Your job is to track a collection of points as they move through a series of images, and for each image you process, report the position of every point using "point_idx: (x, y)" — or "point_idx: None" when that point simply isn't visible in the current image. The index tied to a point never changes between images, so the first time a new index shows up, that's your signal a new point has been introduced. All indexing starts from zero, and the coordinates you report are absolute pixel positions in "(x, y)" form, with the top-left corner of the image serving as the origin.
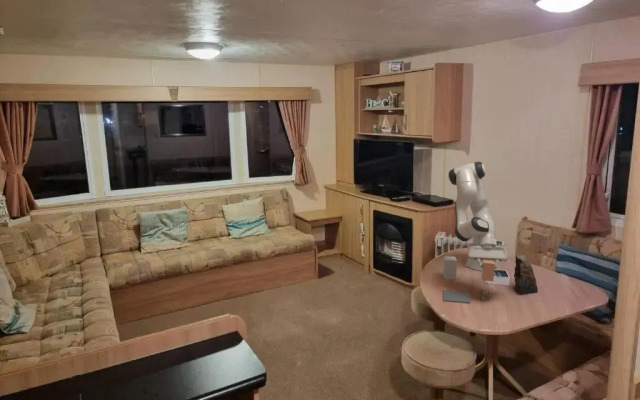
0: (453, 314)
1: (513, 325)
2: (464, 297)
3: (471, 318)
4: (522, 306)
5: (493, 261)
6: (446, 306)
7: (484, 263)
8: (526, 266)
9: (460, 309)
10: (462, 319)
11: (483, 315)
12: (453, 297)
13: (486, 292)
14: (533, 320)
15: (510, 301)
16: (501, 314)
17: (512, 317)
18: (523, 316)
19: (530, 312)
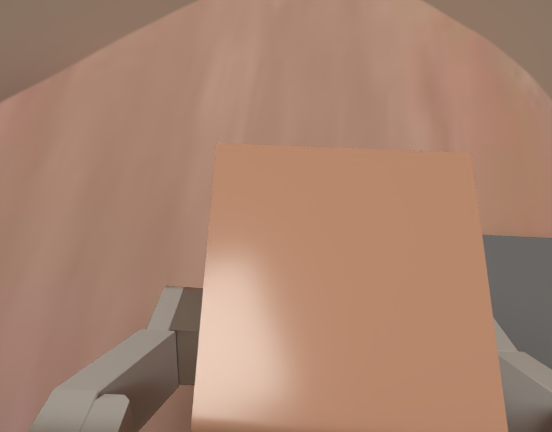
0: (482, 85)
1: (192, 16)
2: None
3: (390, 56)
4: (63, 240)
5: (213, 309)
6: (531, 171)
7: (449, 159)
8: None
9: (450, 145)
10: (433, 42)
11: (326, 94)
12: (511, 294)
13: None
14: (70, 74)
15: (119, 309)
16: (226, 117)
17: (173, 91)
18: (108, 110)
19: (46, 163)
